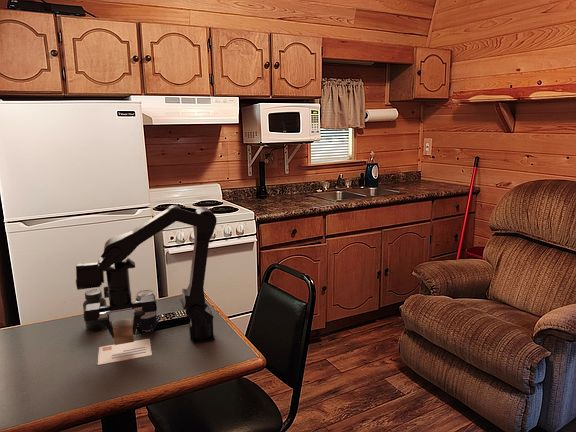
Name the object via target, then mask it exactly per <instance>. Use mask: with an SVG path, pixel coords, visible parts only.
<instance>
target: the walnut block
mask: <svg viewBox="0 0 576 432" xmlns="http://www.w3.org/2000/svg"><path fill="white" fill-rule="evenodd" d="M112 325H113V333H114V338H113V342H114V344H115V345H119V344H125V343H131V342H134V341H135V339H134V338H135V337H134V335H133V317H129V318H122V319H117V320H113V321H112Z"/></svg>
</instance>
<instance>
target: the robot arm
mask: <svg viewBox="0 0 576 432" xmlns="http://www.w3.org/2000/svg"><path fill="white" fill-rule="evenodd" d="M217 220H218V219H217V217H216V215H215V214H214V212H212V211H211V209H210V208H208V207H205V206H201V207H197V208H196V207H195V208H193V207H189V206H180V205H177V204H172V205H169V206H168V207H167V208H166V209H165V210H163V211H161V212H160V213H158V214H157V215H155V216H153V217H152V218H150V219H148V220H147V221H146V222H143V223H142V224H141V225H139V226H137V227H136V228H135V229H132V230H130V231H127V232H124V233H120V234H117V235H116V236H112V237H111V238H109V239H107V241H105V243H104V248H103V252H102V254H100V255H101V256H99V258H98V262H88V263H83V262H81V263H77V264H76V265H75V270H76V271H75V276H76V279H75V285H76V290H77V291H80V290H86V289H87V290H88V289H95V288H96V289H97V288H101V286H102V285H103V283H105V275H106V284H107V286H103V298H104V299H107V298H108V302H109V305H107V306H103V307H100V303H94V304H87V305H86V306H85V308H84V311H83V320H84V321H83V322H84V323H85V322H88V321H95V320H98V322H99V323H100V322H102V323H103V324H104V326H105V327H106V328H105V329H107V331H108V332H109V334H110V337H112V338H113V339H114V333H113V321H112V318H111V313H115V312H116V313H118V312H123V311H124V312H125V311H130V310H132V311H133V313H132V314H133V316H132V325H133V336H135V335H136V332H137V329H138V323H139V320H140V318H141V316H144V315H145V313H147V312H154V311H156V312H157V311H158V307H157V305H158V304H157V300H156V295H155V296H153V295H151V296H144V297H141V301H136V300H135V301H133V302H132V300H133V299H132V291H131V284H130V283H131V282H130V281H131V280H130V271H129V270H130V269H135V268H136V262H135V261H133V260H132V259H130V257H129V256H131V254H133V252H134V251H135V250H136V249H137V248H138V247H139V245H141V244H143V243H144V242H145V241H147V240H148V239H151V238H152V237H153V236H155V235H156V234H159V233H160V232H162V231H163V230H165V229H166V228H168V227H169V226H171V225H172V224H174V223H177V222H178V223H182V224H184V225H185V224H187V225H189V226H192V228H193V235H194V242H193V251H192V259H191V267H190V274H189V275H190V276H189V284H188V286H187V288H182V289H181V292H182V293H181V294H182V295H181V299H180V304H181V306H182V310H184V311H185V316H187V318H188V319H190V320H189V321H190V322H189V323H188V335H189V339H190V340H191V341H192V343H193V345H194V344H199V343H200V344H202V343H206V342H211V341H212V342H213V341H215V340H216V338H215V335H214V315H213V312H212V311H211V308H210V307H209V305H208V304H207V303H206V299H205V298H206V297H205V290H204V285H205V277H206V271H207V270H206V269H207V262H208V253H209V252H208V251H209V246H210V244H209V243H210V241H211V239H212V236H213V235H214V232H215V229H216V226H217Z"/></svg>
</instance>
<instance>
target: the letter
mask: <svg viewBox="0 0 576 432" xmlns="http://www.w3.org/2000/svg"><path fill="white" fill-rule="evenodd" d="M150 356H152V345H151V339H150V338H144V339H138V340H134V342H131V343H125V344H119V345H115V343H114V344H109V345H104V346H99V347H98V357H97V365H98V366H100V365H105V364H113V363H116V362H118V363H119V362H122V361H128V360H134V359H137V358H139V359H141V358H143V357H144V358H145V357H150Z"/></svg>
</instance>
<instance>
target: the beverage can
mask: <svg viewBox="0 0 576 432" xmlns="http://www.w3.org/2000/svg"><path fill="white" fill-rule="evenodd" d="M151 295H153V296H155V297H156V294H155V293H154V291H153V290H152V289H151V290H150V289H145V290H140V291H138V292H136V296H135V302H136V301H141V297H144V296H151ZM138 326H139V328H140V329H139V328H138V329H139V330H140V331H141V330H142V331H141V332H143V331H145V332H144V333H148V332H152V331H154V330H155V329H156V328H157V327H158V317H157V310H156V311H154V312H147V313H145V315H144V316H141V318H140V320H139V323H138V325H137V327H138ZM154 328H155V329H154ZM153 329H154V330H153ZM151 330H152V331H151Z"/></svg>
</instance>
